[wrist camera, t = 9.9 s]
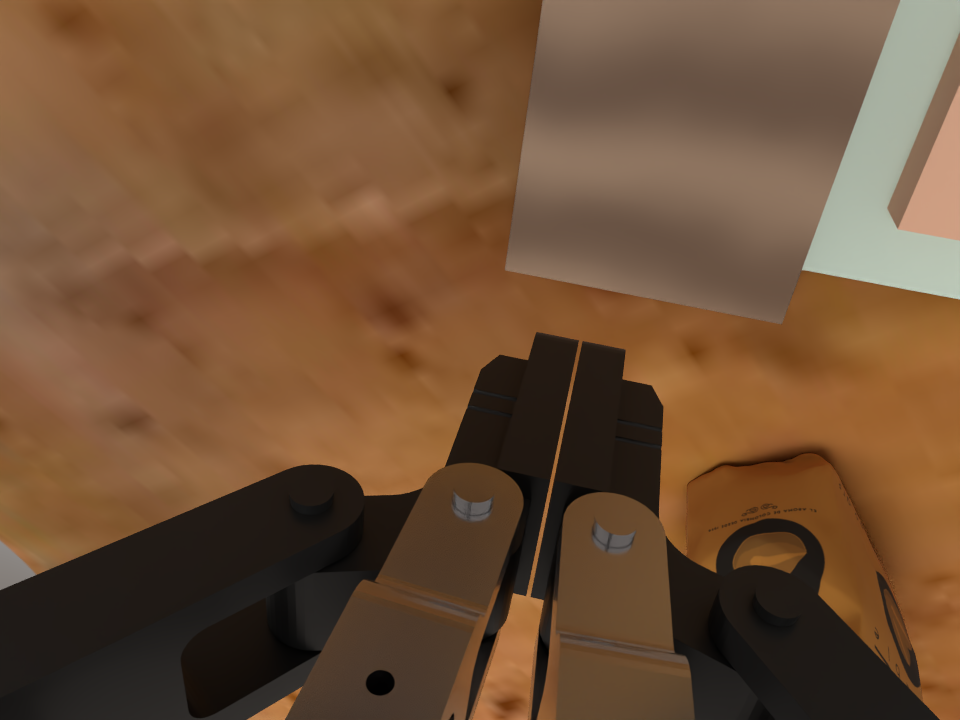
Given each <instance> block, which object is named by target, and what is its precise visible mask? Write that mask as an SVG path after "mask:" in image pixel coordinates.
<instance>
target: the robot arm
mask: <svg viewBox="0 0 960 720" xmlns="http://www.w3.org/2000/svg"><path fill="white" fill-rule="evenodd" d="M578 342H579V340H574V339H569V338H564V337H559V336H554V335H549V334H544V333H539V332H537V333H536V335H535V339H534V342H533V345H532V349H531V352H530V356H529V359H528V360H523V359H518V358H513V357H509V356H504V355H499V356H498V357H496V358H495V359H494V360H492V361H491V362H490V363H489V364H487V365H486V366H485V367H484V368H482V369H481V371H480V374H479V377H478V379H477V382H476V385H475V387H474V391H473V393H472V395H471V398H470V401H469V404H468V408H467V409H466V412H465V414H464V417H463V420H462V422H461V425H460V428H459V430H458V433H457V436H456V439H455V441H454V444H453V447H452V449H451V452H450V455H449V457H448V460H447V463H446V465H445V467H444V468H442V469H440V470H438V471H437V472H435V473H434V474H433V475H432V476H431V477H430V478H429V479H428V480H427V482H426V483H425V485H424V487H423V488H421V489H419V490H416V491H413V492H410V493H405V494H400V495H380V496H364V493H363V490H362V488H361V486H360V484H359V483H358V482H357V480H356V479H354V478H353V477H352V476H351V475H350V474H348V473H346V472H345V471H342V470H340V469H338V468H335V467H331V466H326V465H302V466H297V467H293V468H290V469H287V470H285V471H282V472H280V473H278V474H275V475H273V476H270V477H268V478H266V479H263V480H261V481H259V482H256V483H254V484H251V485H249V486H247V487H244V488H242V489H240V490H237V491H235V492H232V493H230V494H228V495H225V496H223V497H221V498H218V499H216V500H213V501H211V502H209V503H206V504H204V505H202V506H199V507H197V508H194V509H192V510H190V511H187V512H185V513H183V514H180V515H178V516H175V517H173V518H171V519H168V520H166V521H164V522H161V523H159V524H156V525H154V526H152V527H149V528H147V529H145V530H142V531H140V532H137V533H135V534H133V535H130V536H128V537H126V538H123V539H121V540H118V541H116V542H114V543H111V544H109V545H107V546H104V547H102V548H99V549H97V550H95V551H92V552H90V553H88V554H85V555H83V556H80V557H78V558H76V559H73V560H71V561H69V562H66V563H64V564H61V565H59V566H57V567H54V568H52V569H50V570H47V571H45V572H42V573H40V574H38V575H35V576H33V577H31V578H28V579H26V580H24V581H21V582H19V583H16V584H14V585H12V586H9V587H7V588H5V589H2V590H0V720H247V719H248V718H250V717H252V716H253V715H255V714H257V713H258V712H260V711H262V710H264V709H265V708H267V707H269V706H270V705H272V704H274V703H275V702H277V701H279V700H280V699H282V698H284V697H285V696H287V695H289V694H290V693H292V692H294V691H295V690H297V689H299V688H301V687H302V686H303V687H302V689H301V691H300V693H299V695H298V696H297V698H296V700H295V702H294V704H293V706H292V708H291V710H290V711H289V713H288V715H287V717H286V719H285V720H472V719H473V716H474V713H475V710H476V707H477V704H478V701H479V698H480V695H481V692H482V688H483V685H484V682H485V679H486V676H487V673H488V670H489V667H490V664H491V661H492V658H493V655H494V652H495V649H496V646H497V643H498V640H499V635H500V630H501V627H502V626H503V624H504V623H505V621H506V619H507V616H508V612H509V608H510V603H511V599H512V595H513V593H515V594H519V595H524V596H526V594H527V589H528V585H529V580H530V575H531V570H532V565H533V560H534V556H535V551H536V546H537V541H538V536H539V532H540V527H541V522H542V517H543V512H544V507H545V503H546V498H547V493H548V488H549V483H550V479H551V474H552V469H553V464H554V459H555V454H556V450H557V445H558V440H559V435H560V430H561V425H562V421H563V416H564V411H565V406H566V401H567V396H568V391H569V386H570V381H571V376H572V372H573V367H574V362H575V357H576V352H577V347H578ZM624 360H625V350H624V349H619V348H614V347H609V346H604V345H599V344H594V343H589V342H584V341H583V342H582V347H581V352H580V357H579V361H578V366H577V371H576V376H575V381H574V386H573V390H572V395H571V400H570V405H569V410H568V414H567V419H566V424H565V429H564V434H563V439H562V444H561V449H560V454H559V459H558V463H557V468H556V473H555V478H554V483H553V488H552V493H551V498H550V503H549V508H548V513H547V518H546V523H545V528H544V533H543V538H542V543H541V548H540V553H539V558H538V563H537V568H536V573H535V578H534V583H533V588H532V593H531V597H533V598H537V599H542V600H544V603H543V608H542V614H541V619H540V624H539V629H538V633H537V638H536V642H535V647H534V657H533V668H532V678H531V689H530V700H529V711H528V720H940V719H939V718H938V717H937V716H936V715H935V714H934V713H933V712H932V711H931V710H930V709H929V708H928V707H927V706H926V705H925V704H924V703H923V702H922V701H921V700H920V699H919V698H918V697H917V696H916V695H915V694H914V693H913V692H912V691H911V690H910V689H909V688H908V687H907V686H906V684H905V683H904V682H903V681H902V680H901V679H900V678H899V677H898V676H897V675H896V674H895V673H894V672H893V671H892V670H891V669H890V668H889V667H888V666H887V665H886V664H885V663H884V662H883V661H882V660H881V659H880V658H879V657H878V656H877V655H876V654H875V653H874V652H873V651H872V650H871V648H870V647H869V646H868V645H867V644H866V643H865V642H864V641H863V640H862V639H861V638H860V637H859V636H858V635H857V634H856V633H855V632H854V631H853V630H852V629H851V628H850V627H849V626H848V625H847V624H846V623H845V622H844V621H843V620H842V619H841V618H840V617H839V616H838V615H837V614H836V612H835V611H834V610H833V609H832V608H831V607H830V606H829V605H828V604H827V603H826V602H825V601H824V600H823V599H822V598H821V597H820V596H819V595H818V594H817V593H816V592H815V591H814V590H813V589H812V588H811V587H810V586H808V585H807V584H806V583H804V582H803V581H802V580H800V579H799V578H797V577H795V576H793V575H792V574H789V573H787V572H785V571H783V570H780V569H776V568H773V567H768V566H762V565H749V566H743V567H739V568H737V569H735V570H733V571H731V572H730V573H729V574H727V575H726V576H725V577H723V576H721V575H719V574H717V573H715V572H713V571H711V570H709V569H707V568H705V567H703V566H701V565H699V564H697V563H696V562H694V561H692V560H690V559H689V558H688V557H686V556H685V555H683V554H682V553H681V552H680V551H679V550H678V549H676V548H675V547H674V545H673V544H672V543H671V542H670V541H669V540H668V538H667V537H666V535H665V530H664V528H663V526H662V524H661V522H660V520H659V495H660V472H661V446H662V426H663V405H662V404H661V402H660V400H659V398H658V396H657V395H656V393H655V391H654V389H653V387H652V386H651V385H647V384H642V383H637V382H632V381H627V380H622V377H623V369H624Z"/></svg>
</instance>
